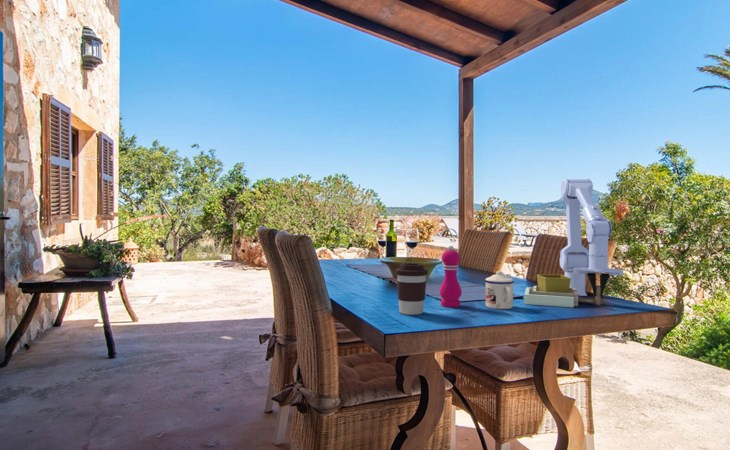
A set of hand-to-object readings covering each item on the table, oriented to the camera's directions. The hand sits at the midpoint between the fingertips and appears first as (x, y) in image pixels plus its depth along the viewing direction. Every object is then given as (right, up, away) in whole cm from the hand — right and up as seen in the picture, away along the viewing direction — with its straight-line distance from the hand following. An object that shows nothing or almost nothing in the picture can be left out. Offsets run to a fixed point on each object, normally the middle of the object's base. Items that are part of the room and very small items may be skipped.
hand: (597, 295), depth 154 cm
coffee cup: (-65, -3, -14) cm, 66 cm away
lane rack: (-14, -3, +6) cm, 16 cm away
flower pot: (-13, -3, +5) cm, 14 cm away
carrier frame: (-9, -3, +4) cm, 10 cm away
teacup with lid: (-34, -3, -6) cm, 35 cm away
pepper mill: (-50, -3, -3) cm, 51 cm away
